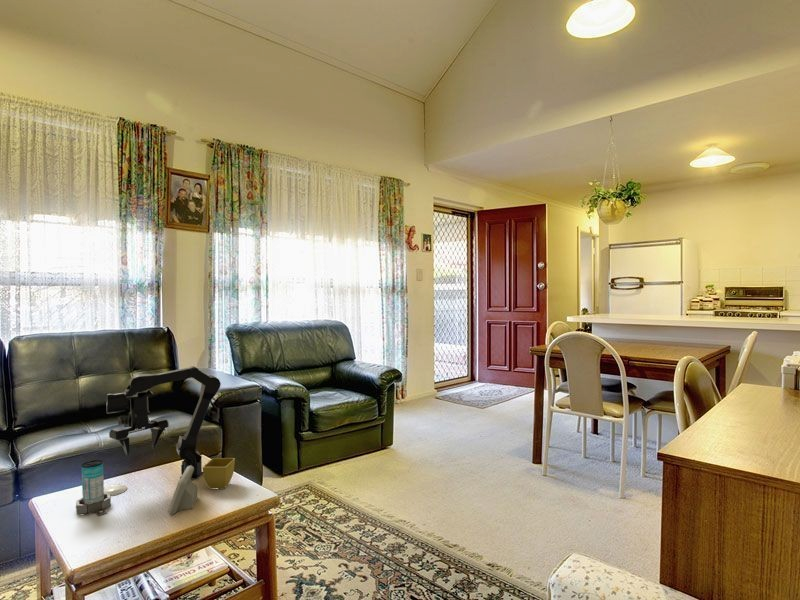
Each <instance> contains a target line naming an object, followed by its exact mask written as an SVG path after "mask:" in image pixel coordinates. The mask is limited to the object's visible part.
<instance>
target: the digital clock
mask: <svg viewBox="0 0 800 600" xmlns="http://www.w3.org/2000/svg"><path fill="white" fill-rule="evenodd" d="M193 471H194V467H193V466H191V465H190V466H188V467H187V468H186V470H185V471H184V473H183V475H181V476H182V477H181V476H180V477H181V478H180V477H179V480H178V482H177V485H176V487H175V490H174V492H173V496H172V498H171V500H170V501H171V502H170V503H169V506H168V509H167V512H168V514H169V515H175V514H176V513H177V512H178V511H184V510H183V509H187V510H191V509H190V508H194V506H195V504H196V501H197V500H198V497H199V495H198V485H197V484H196V483H195V482H193V479H191V477H192V474H193ZM196 499H197V500H196ZM177 510H178V511H177Z"/></svg>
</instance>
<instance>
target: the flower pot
mask: <svg viewBox="0 0 800 600" xmlns="http://www.w3.org/2000/svg"><path fill="white" fill-rule="evenodd" d="M235 460H236V458H235V457H224V458H223V457H220V458H219V457H213V458H211V459H209V460H208V462H207V463H205V464H204V465H203V466H202V472H203V473H204V474H203V478H204V482H205V484H206V486H207V487H208V489H210V488H224V489H225V488H226V487H227V486H228V485H229V483H230V482H231V481H232V478H233V475H234V470H235V465H236V464H235V463H236V461H235Z"/></svg>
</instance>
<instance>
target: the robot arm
mask: <svg viewBox="0 0 800 600" xmlns="http://www.w3.org/2000/svg"><path fill="white" fill-rule="evenodd" d="M191 378H192V379H194V380H196V381H197V382H199V383H201V384H200V393H199V399H198V402H197V404H196V407H195V409H194V412H193V415H192V417H191V420H190V422H189V425H188V428H187V430H186V432H185V434H183V436H182V435H179V436H178V441H177V443H176V444H175V447H176V452H177V454H178V456H179V457H180V459H182V461H181V465H180V470H181V471H180V472H181V473H180V476H179V479H180V478H181V477H182V475H183V473H184V471H185V470H186V468H187V467H188V466H190V465H191V466H193V467H194V471H193V474H192V477H191V480H197V479H198V478H199V477H201V476H203V475H204V473H203V466H202V455H201V454H200V452H199V450H198V449H197V445H198V436H199V433H200V430H201V428H202V425H203V422H204V420H205V417H206V415H207V412H208V409H209V406H210V404H211V402H212V400H213V398H215V396H216V395H217V394H218V392H219V390H220V387H221V384H222V383H221V381H220V379H219V378H217V376H214V375H212V374H206V373H205V372H203V371H201V370H199V368H198V367H196V366H194V365H193V366H188V367H185V368H179V369H174V370H169V371H163V372H160V373H138V374H137V373H136V374H135V375H132V376H131V378H130V379H129V385H128V386H126V388H125V390H124V391H123V392H119V393H107V394H106V414H115V413H123V412H124V413H125V411H126V410H128V409H129V405H130V412H128V416H126V415H120V416H118V417H117V424H118V426H119V427H116V428H113V429H110V431H109V432H108V433H109V434H108V435H109V438H110V439H113V440H115V441H118V442H119V443H120V445H121V446H122V450H123V451H124V454H125V456H130V437H128V436H129V435H130V434H133V433H137V432H141V431H145V430H149V429H150V432H151V448H152V449H155V447H156V445H157V444H158V441H159V439H160V437H161V436H162V434H163V432H164V431H166V428H169V427H170V426H169V424H170V423H169V421H168V419H165V418H162V417H159V418H156V419H155V418H154V419H152V420H151V421H149V417H150V415H151V411H150V410H149V397H154V396H155V394H154V392H152V391H151V389H152V388H155V387H157V386H160V385H163V384H164V385H165V384H167V383H172V382H176V381H181V380H186V379H191ZM129 400H130V402H129ZM129 403H130V404H129ZM122 426H123V427H122ZM200 475H201V476H200Z"/></svg>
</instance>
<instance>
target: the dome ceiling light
mask: <svg viewBox="0 0 800 600" xmlns="http://www.w3.org/2000/svg"><path fill="white" fill-rule="evenodd" d="M127 489H128V486H127V484H123V483H121V484H120V483H119V484H117V483H115V484H112V485H108V486H104V493H110V497H113V496H117V495H119V494H122V493H124V492H126V490H127Z"/></svg>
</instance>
